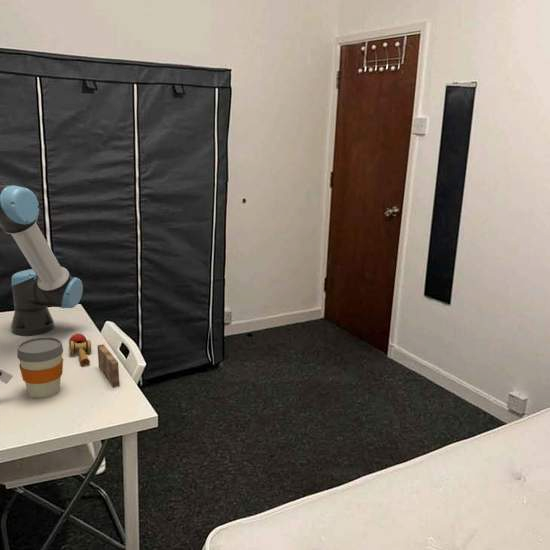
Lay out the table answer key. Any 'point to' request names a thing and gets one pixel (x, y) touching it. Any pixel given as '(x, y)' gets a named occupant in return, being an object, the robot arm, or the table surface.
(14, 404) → the table surface
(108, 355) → the board
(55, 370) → the reusable coffee cup
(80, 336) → the kendama
